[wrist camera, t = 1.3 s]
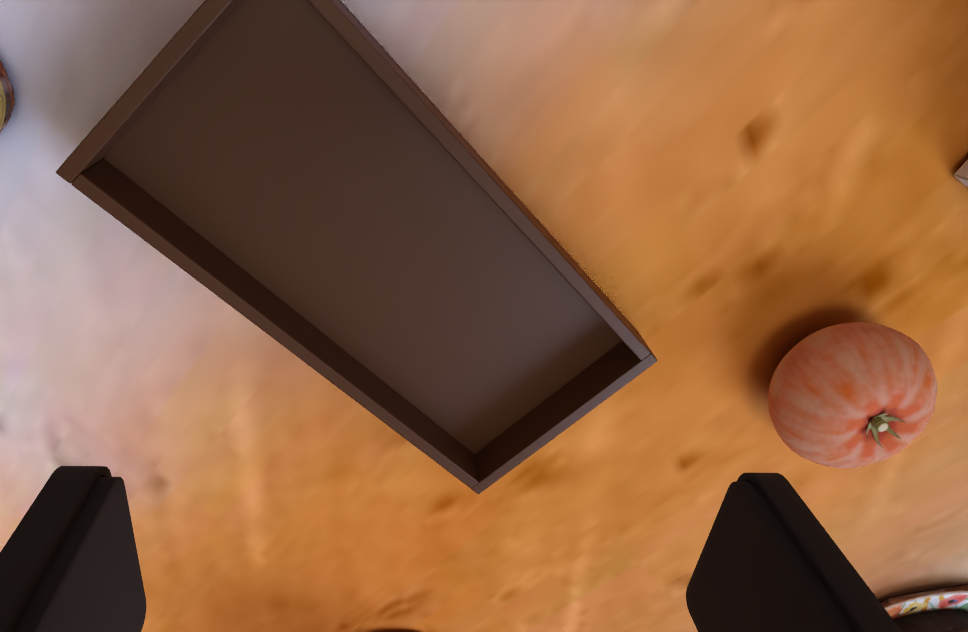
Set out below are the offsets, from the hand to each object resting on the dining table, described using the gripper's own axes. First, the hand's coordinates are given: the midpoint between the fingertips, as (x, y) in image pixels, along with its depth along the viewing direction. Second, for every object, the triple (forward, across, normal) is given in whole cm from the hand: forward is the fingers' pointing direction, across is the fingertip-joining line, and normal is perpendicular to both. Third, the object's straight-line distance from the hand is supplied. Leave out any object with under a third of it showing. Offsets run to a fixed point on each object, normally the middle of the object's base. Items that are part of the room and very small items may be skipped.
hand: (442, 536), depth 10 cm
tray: (+29, 0, +8) cm, 30 cm away
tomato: (+30, -32, +15) cm, 46 cm away
